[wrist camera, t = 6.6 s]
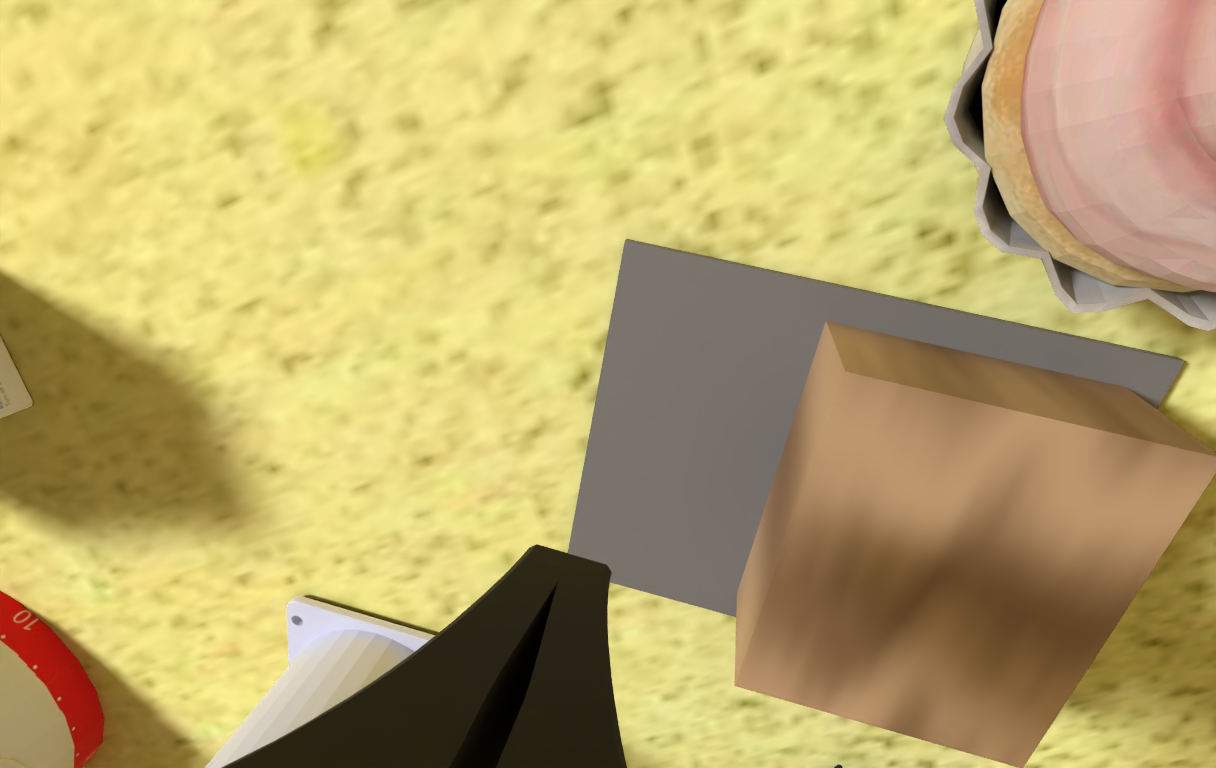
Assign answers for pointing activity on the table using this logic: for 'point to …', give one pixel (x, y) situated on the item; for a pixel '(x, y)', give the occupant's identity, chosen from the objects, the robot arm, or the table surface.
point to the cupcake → (1097, 146)
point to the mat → (748, 405)
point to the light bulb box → (11, 386)
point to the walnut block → (955, 539)
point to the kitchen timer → (43, 696)
